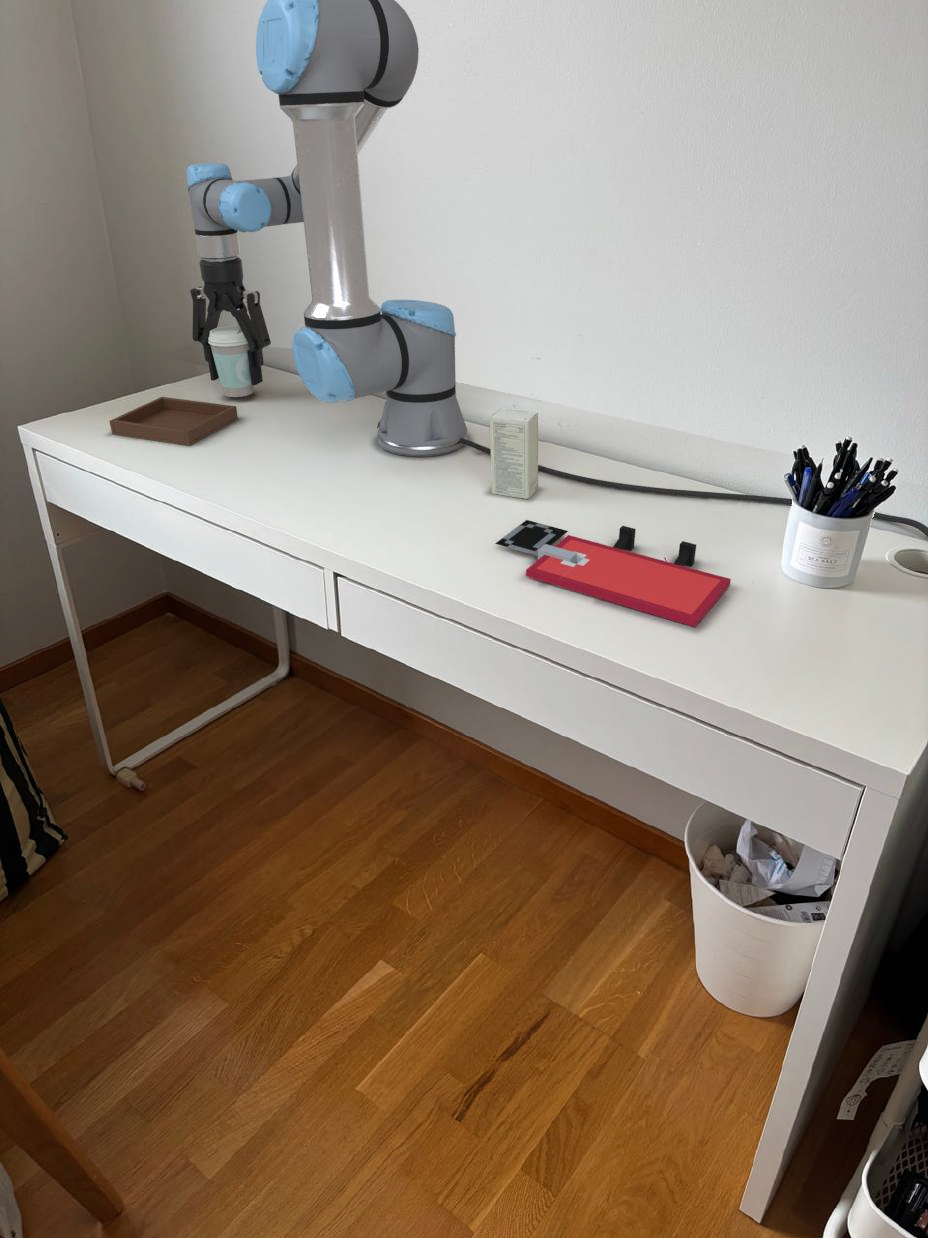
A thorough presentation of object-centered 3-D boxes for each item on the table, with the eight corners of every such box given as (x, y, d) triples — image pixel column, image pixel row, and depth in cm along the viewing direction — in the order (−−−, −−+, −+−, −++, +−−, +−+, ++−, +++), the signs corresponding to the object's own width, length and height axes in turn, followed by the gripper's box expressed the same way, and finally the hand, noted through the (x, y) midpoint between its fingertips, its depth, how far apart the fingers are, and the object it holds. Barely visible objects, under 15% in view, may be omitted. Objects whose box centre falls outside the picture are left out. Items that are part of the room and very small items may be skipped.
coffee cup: (239, 402, 181) (230, 338, 175) (206, 395, 185) (197, 332, 179) (269, 390, 187) (262, 327, 181) (237, 383, 191) (229, 322, 185)
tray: (238, 419, 175) (236, 406, 174) (189, 445, 164) (187, 431, 162) (164, 409, 181) (161, 396, 179) (112, 434, 169) (109, 420, 168)
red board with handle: (533, 520, 135) (475, 564, 124) (533, 502, 133) (475, 545, 123) (739, 576, 121) (694, 630, 110) (742, 556, 119) (697, 609, 109)
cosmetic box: (538, 489, 145) (540, 411, 139) (527, 500, 142) (529, 421, 135) (500, 483, 147) (500, 406, 141) (489, 493, 144) (488, 415, 138)
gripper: (281, 257, 173) (294, 380, 184) (184, 250, 180) (202, 369, 191) (258, 264, 167) (273, 392, 178) (158, 257, 174) (179, 380, 185)
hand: (236, 380), depth 185 cm, fingers closed on coffee cup, 9 cm apart
